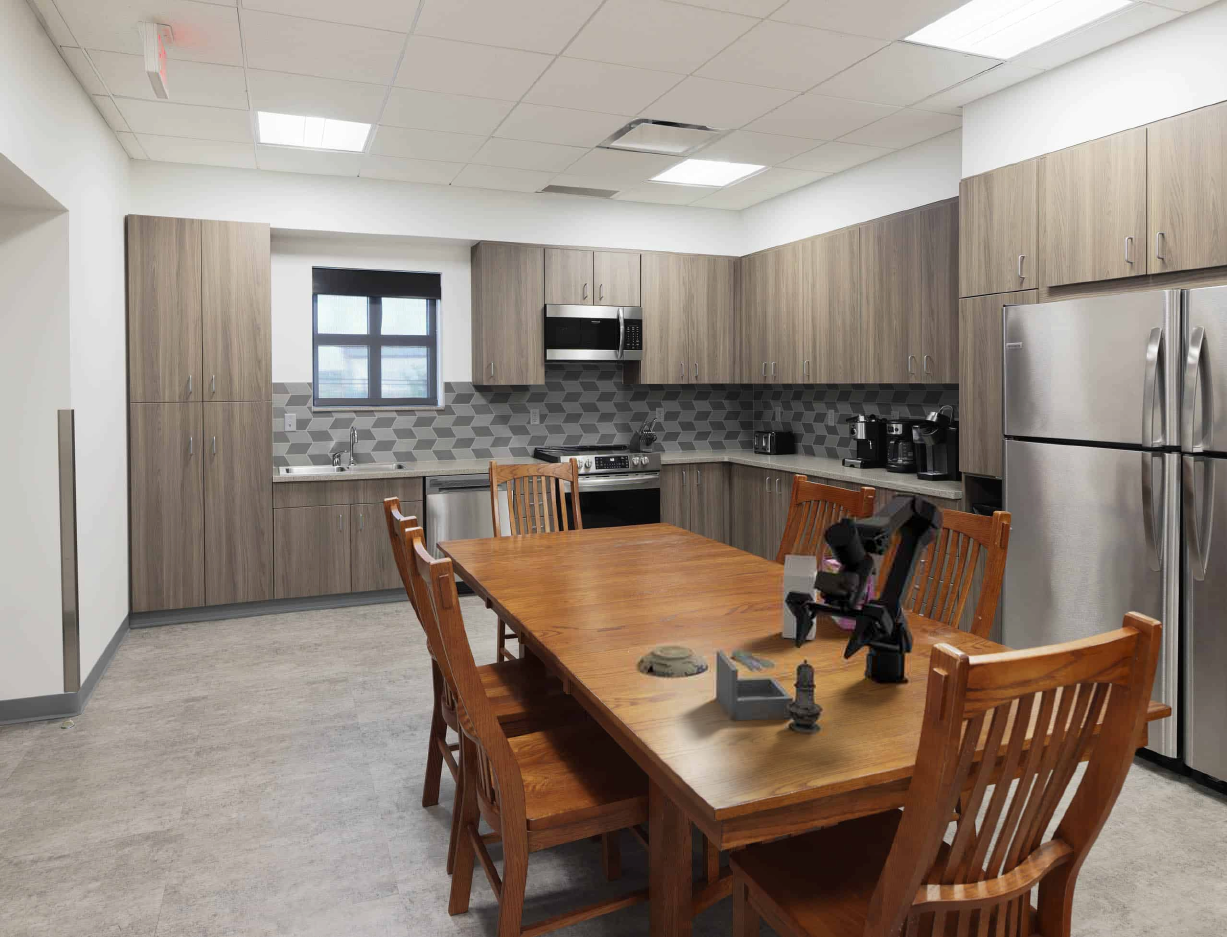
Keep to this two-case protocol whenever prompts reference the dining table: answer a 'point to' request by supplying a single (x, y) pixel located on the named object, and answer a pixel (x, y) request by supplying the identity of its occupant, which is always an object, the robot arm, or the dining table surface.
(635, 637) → the dining table surface
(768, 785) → the dining table surface
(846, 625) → the gum box
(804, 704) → the salt shaker
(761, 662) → the leaf
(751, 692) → the shaker rack
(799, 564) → the milk carton
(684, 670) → the decorative bowl
